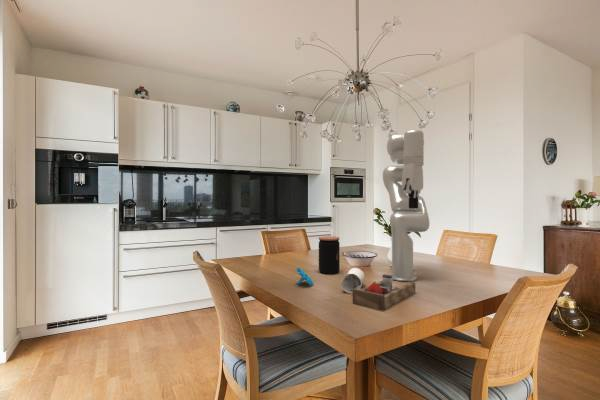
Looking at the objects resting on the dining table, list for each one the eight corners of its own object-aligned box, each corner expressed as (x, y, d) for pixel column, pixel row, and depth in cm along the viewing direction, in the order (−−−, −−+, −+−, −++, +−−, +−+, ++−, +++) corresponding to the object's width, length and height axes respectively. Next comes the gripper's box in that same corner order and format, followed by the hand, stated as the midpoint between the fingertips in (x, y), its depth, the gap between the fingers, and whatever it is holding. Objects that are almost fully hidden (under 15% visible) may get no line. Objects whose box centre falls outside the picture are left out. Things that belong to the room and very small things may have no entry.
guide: (388, 287, 139) (388, 275, 139) (415, 292, 131) (415, 280, 131) (352, 303, 118) (352, 289, 118) (382, 310, 110) (382, 295, 110)
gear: (313, 284, 138) (296, 267, 140) (302, 294, 138) (287, 276, 140) (316, 281, 148) (301, 265, 151) (307, 290, 149) (292, 274, 151)
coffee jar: (340, 274, 163) (340, 238, 163) (319, 274, 163) (319, 238, 163) (338, 270, 173) (338, 236, 173) (318, 270, 173) (318, 236, 173)
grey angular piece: (386, 291, 133) (386, 271, 133) (403, 294, 128) (403, 273, 128) (369, 298, 123) (369, 277, 123) (387, 302, 118) (387, 280, 118)
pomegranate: (364, 301, 120) (364, 279, 120) (379, 300, 121) (379, 279, 121) (369, 306, 115) (369, 283, 115) (385, 305, 115) (385, 282, 115)
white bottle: (366, 283, 147) (366, 265, 147) (361, 294, 129) (361, 274, 129) (349, 281, 149) (349, 264, 149) (341, 292, 131) (341, 272, 131)
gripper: (412, 164, 138) (412, 207, 138) (395, 161, 127) (395, 208, 127) (430, 162, 133) (430, 208, 133) (414, 159, 122) (414, 209, 122)
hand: (413, 208), depth 130 cm, fingers closed
